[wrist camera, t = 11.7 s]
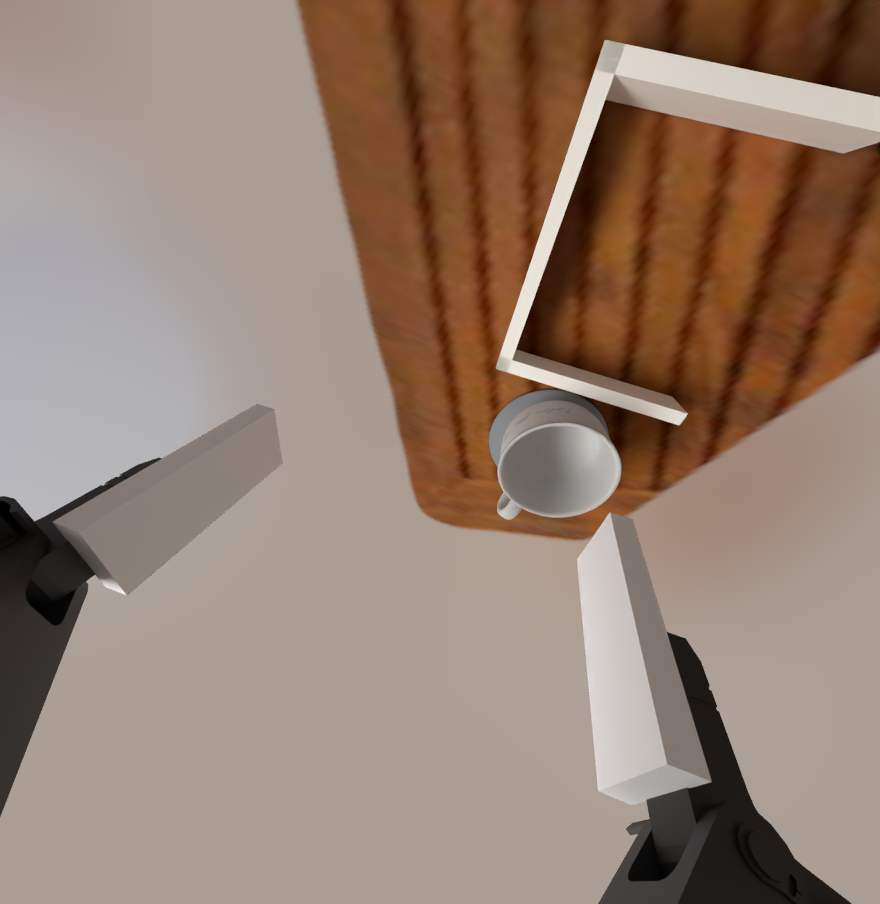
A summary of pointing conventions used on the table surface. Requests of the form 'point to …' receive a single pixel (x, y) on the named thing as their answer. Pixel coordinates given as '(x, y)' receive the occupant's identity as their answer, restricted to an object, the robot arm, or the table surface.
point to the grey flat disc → (526, 401)
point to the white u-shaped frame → (698, 98)
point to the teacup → (556, 462)
